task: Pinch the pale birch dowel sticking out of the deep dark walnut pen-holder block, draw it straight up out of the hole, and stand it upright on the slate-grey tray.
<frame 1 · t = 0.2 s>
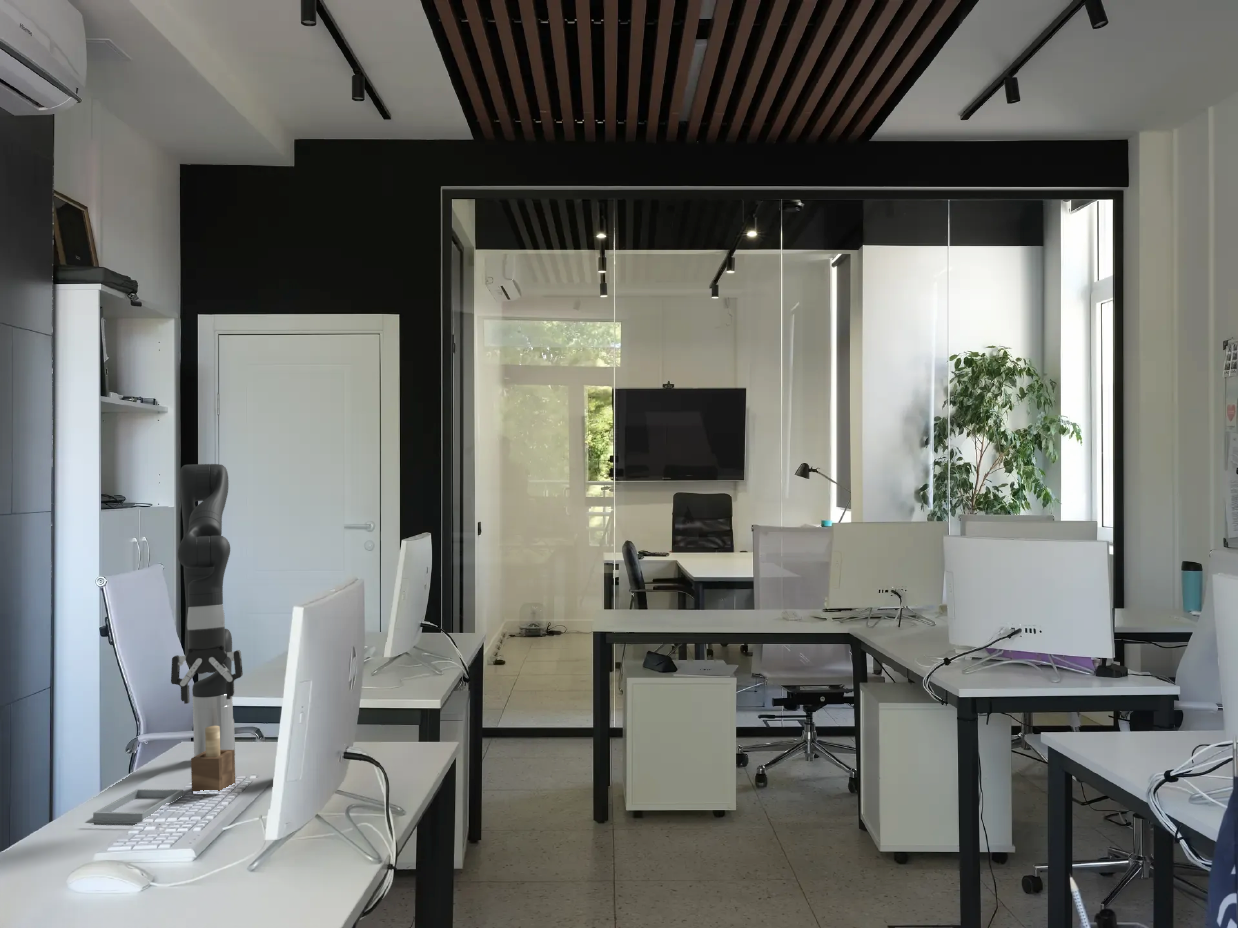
hand: (207, 700, 203), 23 cm above the table, tool pointing down, fingers open, 8 cm apart
grey tray: (140, 812, 199), on the table
walnut holder: (214, 793, 209), on the table
birch dowel: (213, 789, 209), point 1 cm above the table, touching walnut holder
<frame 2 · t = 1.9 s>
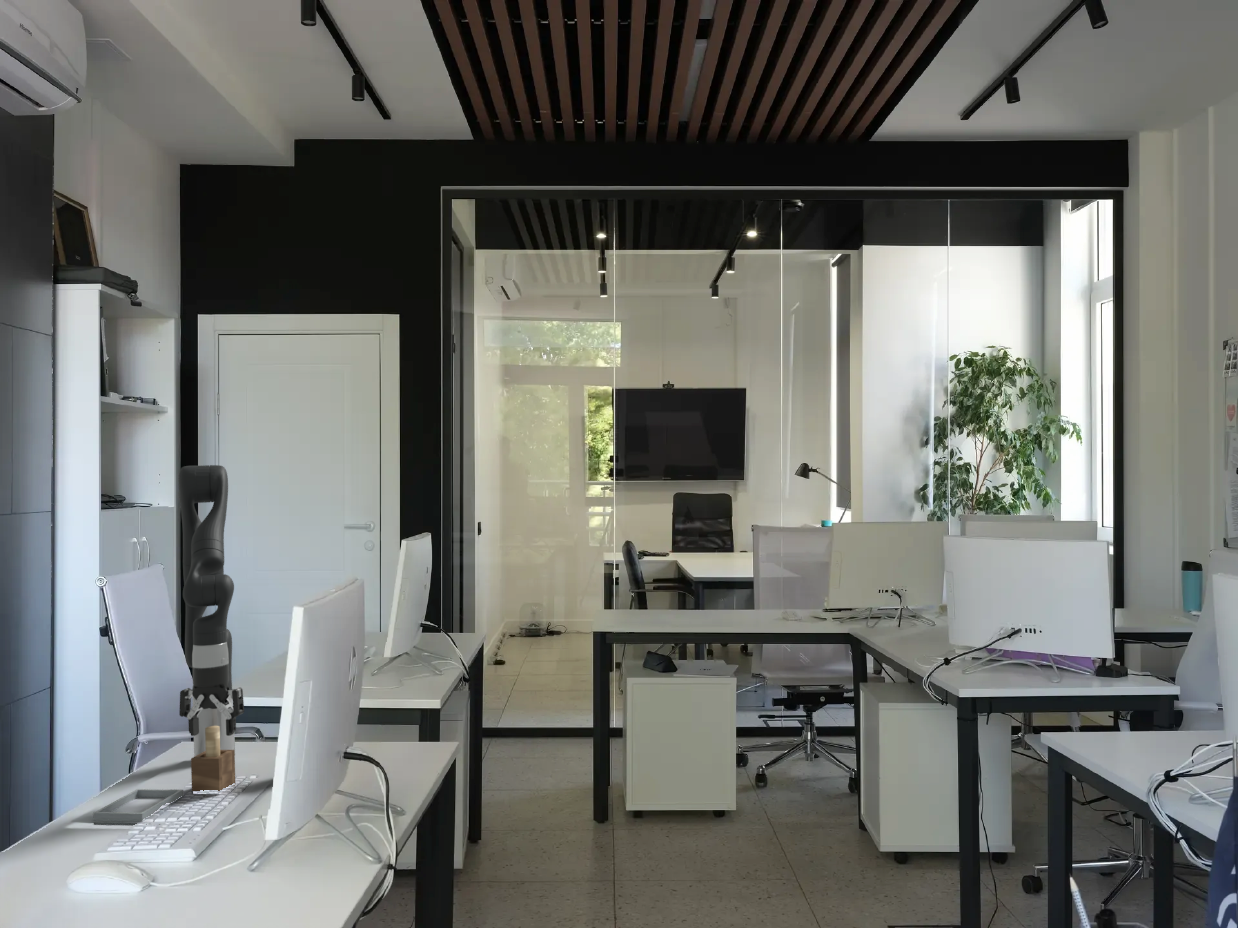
hand: (212, 734, 209), 13 cm above the table, tool pointing down, fingers open, 8 cm apart
nothing on the table moved.
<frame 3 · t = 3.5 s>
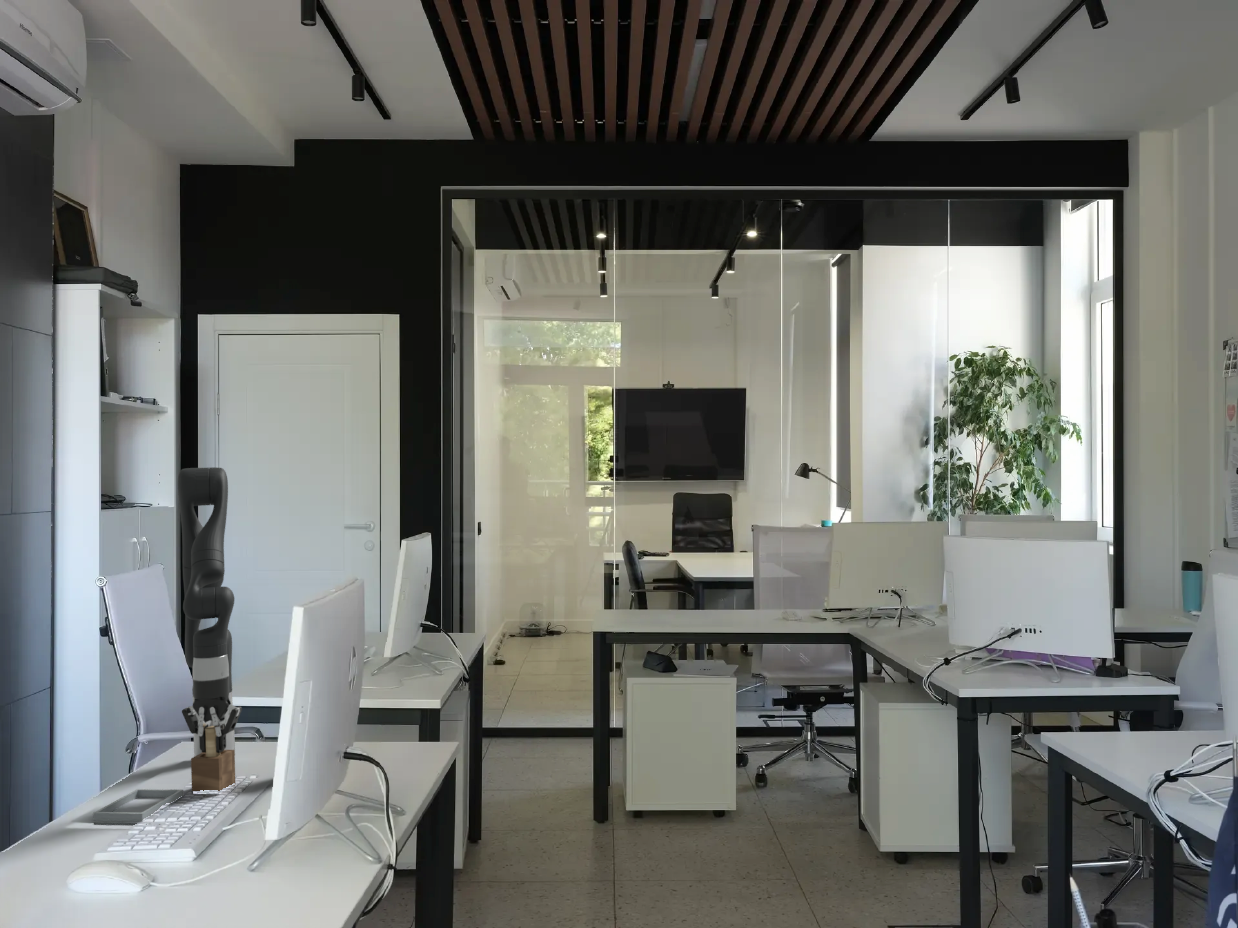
hand: (212, 751, 209), 10 cm above the table, tool pointing down, fingers closed on birch dowel, 3 cm apart
birch dowel: (214, 789, 209), point 1 cm above the table, touching gripper
everything else where it was.
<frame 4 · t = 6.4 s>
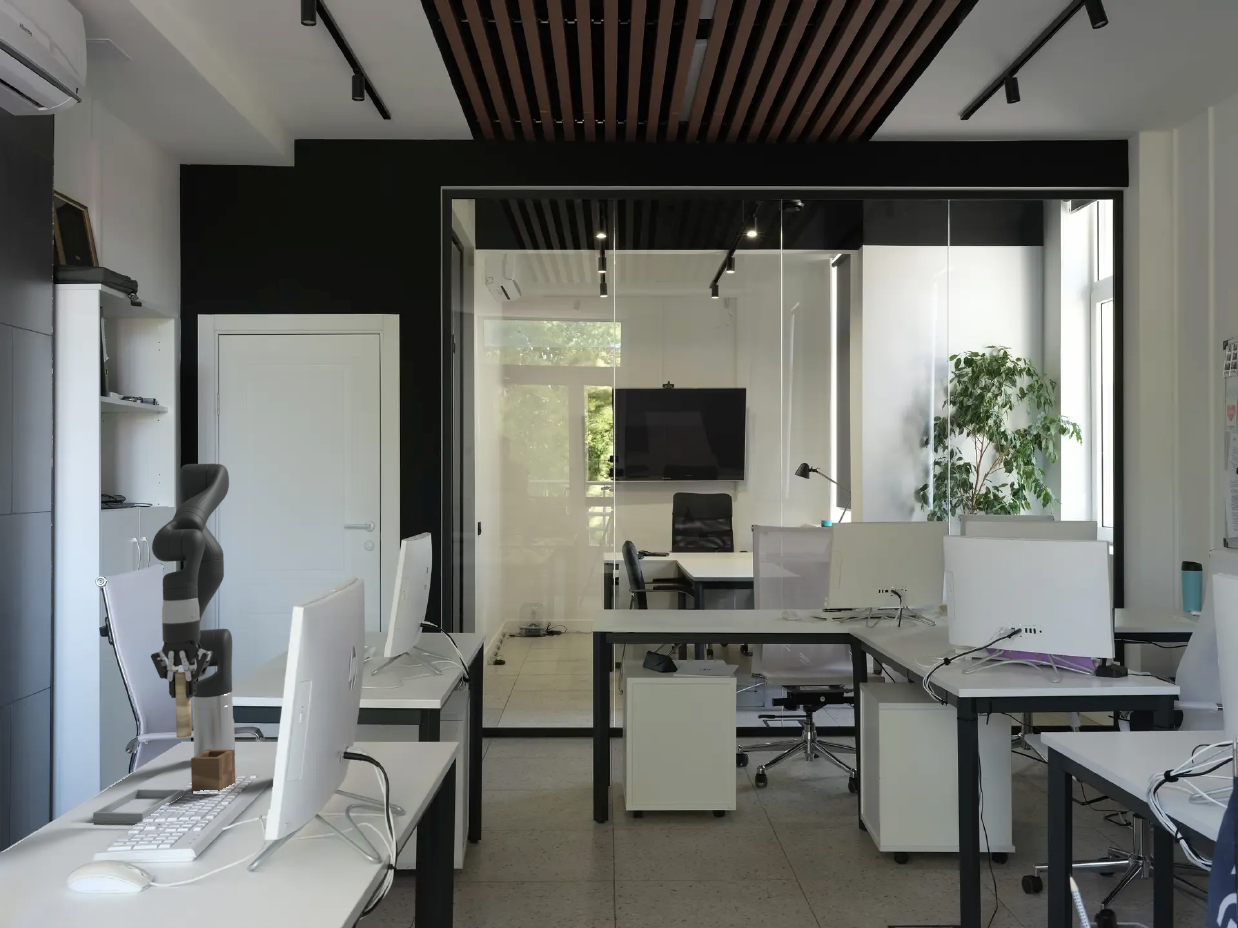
hand: (182, 696, 205), 23 cm above the table, tool pointing down, fingers closed on birch dowel, 3 cm apart
birch dowel: (184, 735, 205), point 15 cm above the table, touching gripper
everything else where it was.
when the fingers open (10 cm above the table, at t = 9.3 s): birch dowel drops 1 cm, resting on grey tray.
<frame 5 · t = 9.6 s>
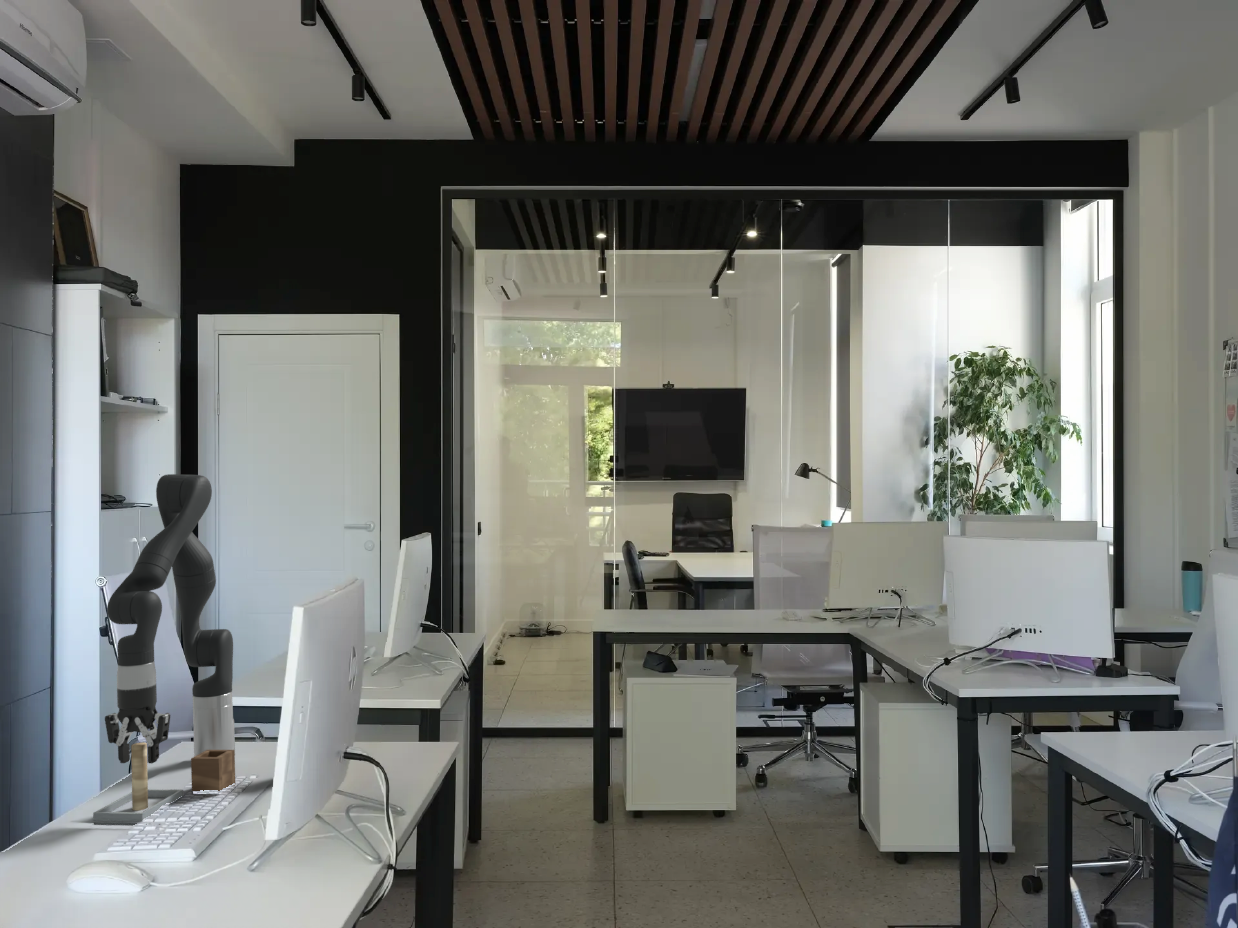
hand: (138, 761, 199), 11 cm above the table, tool pointing down, fingers open, 6 cm apart
birch dowel: (140, 809, 199), point 1 cm above the table, touching grey tray
everything else where it was.
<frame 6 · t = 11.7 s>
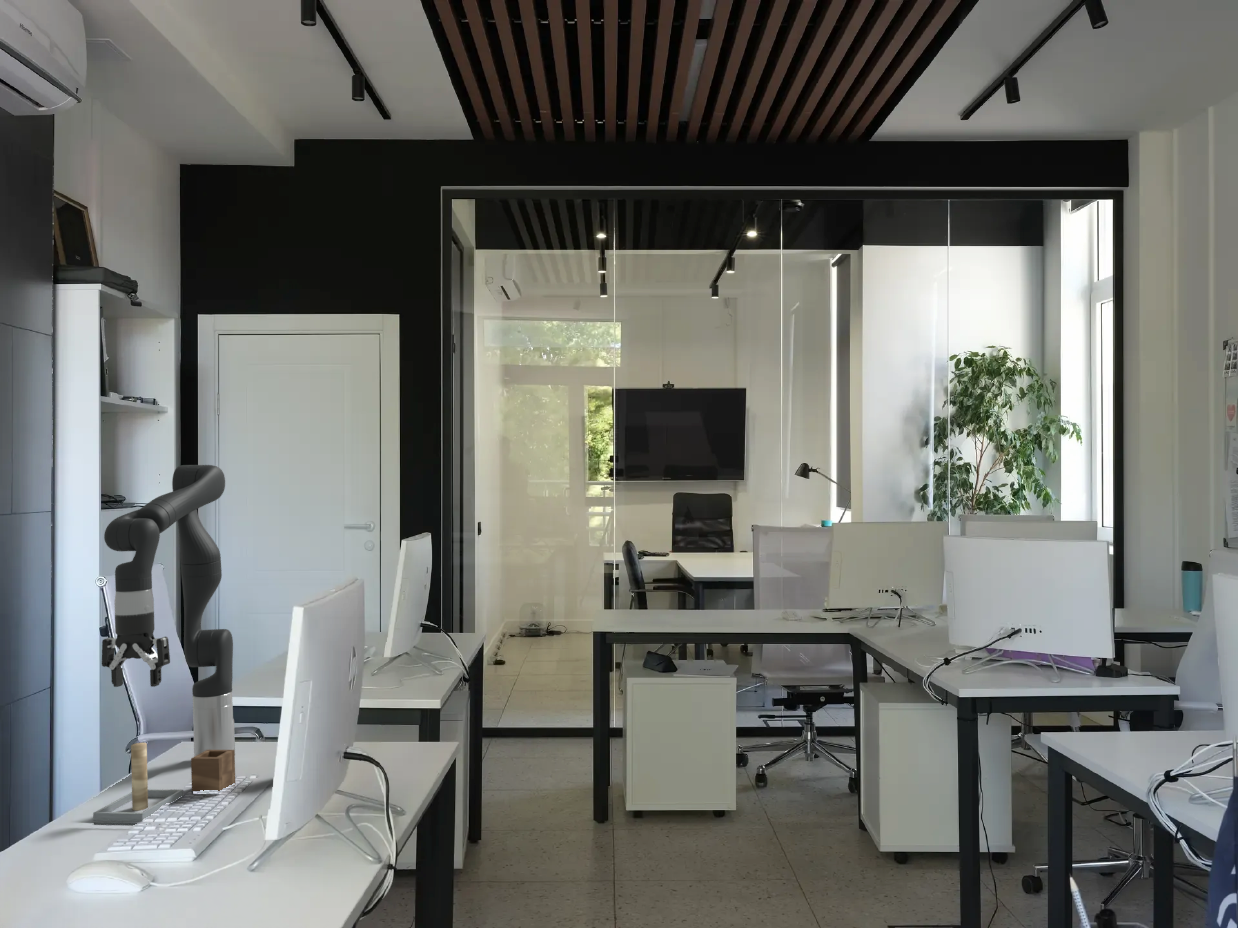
hand: (136, 685, 199), 27 cm above the table, tool pointing down, fingers open, 8 cm apart
nothing on the table moved.
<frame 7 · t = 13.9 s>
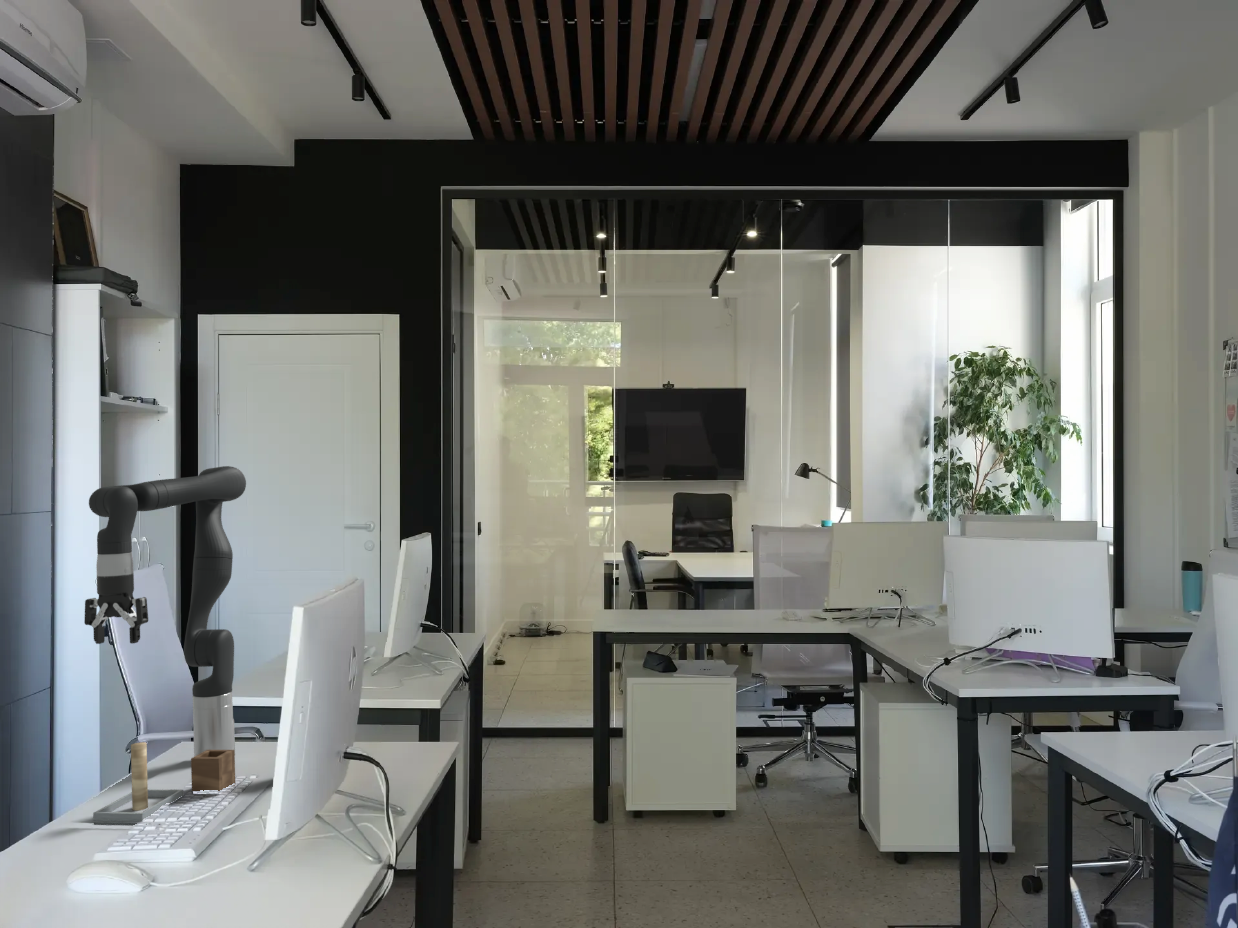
hand: (117, 643, 213), 34 cm above the table, tool pointing down, fingers open, 8 cm apart
nothing on the table moved.
at the end: birch dowel inside the target area on the grey tray (0.1 cm from its centre), point 0.6 cm above the grey tray's base; birch dowel tilted 1°; the gripper is holding nothing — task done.
